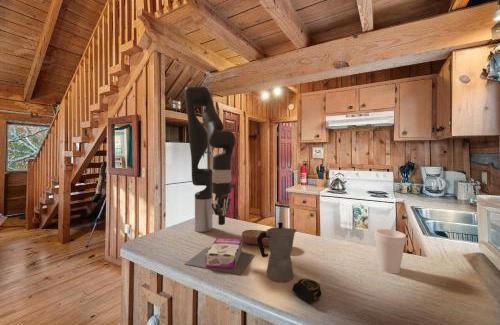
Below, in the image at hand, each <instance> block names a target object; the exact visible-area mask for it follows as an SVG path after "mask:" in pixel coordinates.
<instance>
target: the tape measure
mask: <svg viewBox="0 0 500 325" xmlns="http://www.w3.org/2000/svg"><path fill="white" fill-rule="evenodd" d="M292 292H293V293H294V294H295V295H297V296H299V297H301V298H302V299H303V300H305V301H306V302H307V303H309V304H313V303H314V302H315V301H317V300H319V299H320V297H321V295H322V290H321V284H320V283H318V282H317V281H316V280H315V279H311V278H302V279H300V280H298V281H297V282H296V283H293V285H292Z"/></svg>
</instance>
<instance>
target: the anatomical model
mask: <svg viewBox="0 0 500 325" xmlns="http://www.w3.org/2000/svg"><path fill="white" fill-rule="evenodd" d="M266 231H267V230H260V229H246V230H244V231H242V232H241V236H242V240H243V241H244V242H245V243H247V244H249V245H255V246H259V245H258V243H257V237H258V236H259V234H260V233H261V232H266ZM262 242H263V247H267V248H268V247H269V242H268V238H263V239H262Z"/></svg>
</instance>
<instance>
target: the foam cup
mask: <svg viewBox="0 0 500 325" xmlns="http://www.w3.org/2000/svg"><path fill="white" fill-rule="evenodd" d="M374 239H375V245H376V252H377V254H376V255H377V261H378V268H379V270H381V271H383V272H385V273H389V274H400V271H401V265H402V260H403V255H404V250H405V244H406V243H407V242H406V241H407V235H406V234H405V233H404V232H401V231H398V230H394V229H388V228H377V229H375V230H374Z"/></svg>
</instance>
